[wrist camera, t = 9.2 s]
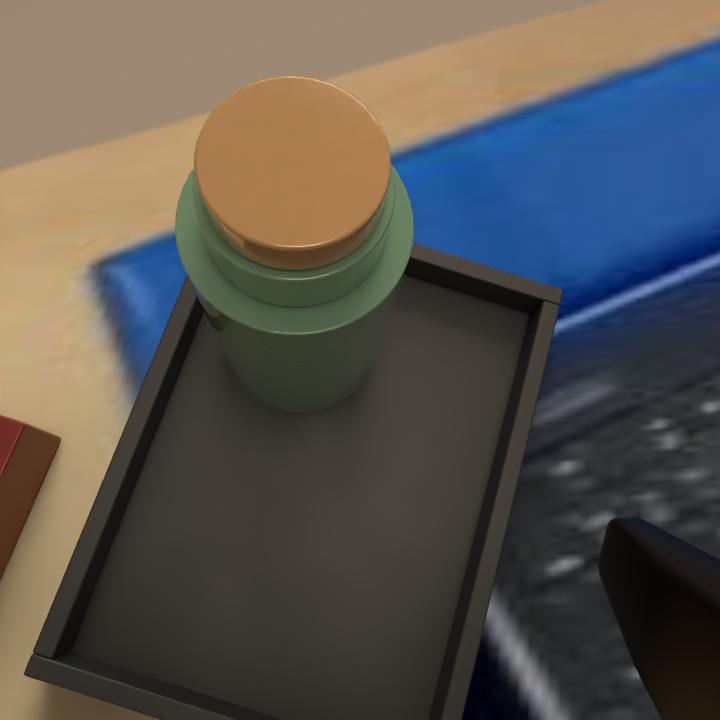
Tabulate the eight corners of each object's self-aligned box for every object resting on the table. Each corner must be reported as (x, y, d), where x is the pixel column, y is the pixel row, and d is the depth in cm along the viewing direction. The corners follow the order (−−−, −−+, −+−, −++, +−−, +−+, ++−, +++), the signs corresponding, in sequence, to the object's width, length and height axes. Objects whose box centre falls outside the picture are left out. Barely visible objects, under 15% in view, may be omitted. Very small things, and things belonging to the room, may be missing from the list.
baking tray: (428, 784, 20) (440, 810, 19) (49, 663, 21) (21, 675, 19) (544, 309, 25) (564, 289, 23) (230, 209, 25) (224, 182, 23)
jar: (349, 433, 23) (389, 331, 11) (203, 386, 23) (101, 240, 12) (393, 295, 24) (465, 86, 13) (254, 252, 24) (208, 5, 13)
